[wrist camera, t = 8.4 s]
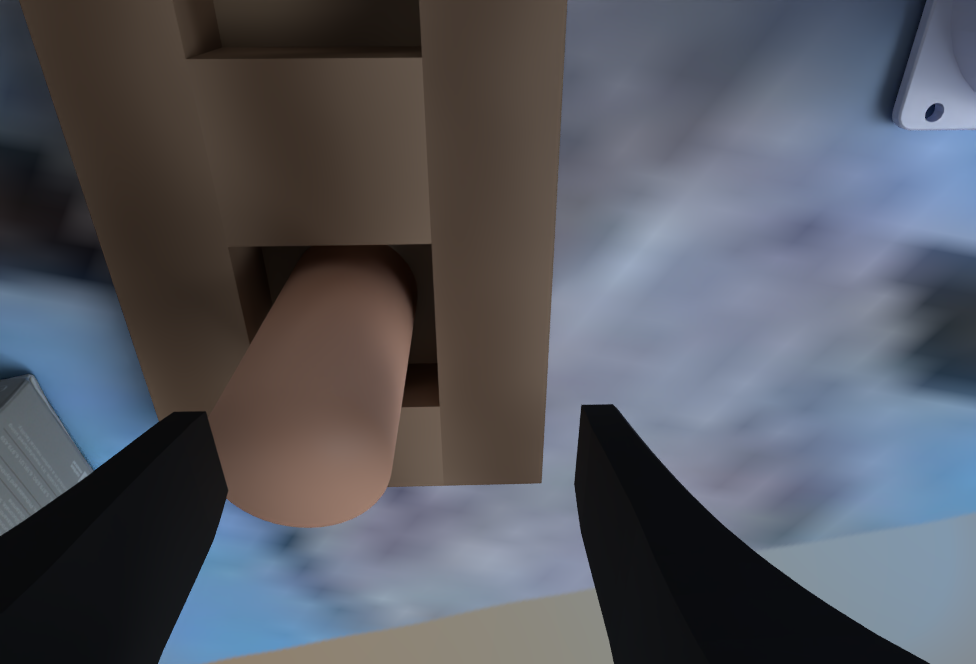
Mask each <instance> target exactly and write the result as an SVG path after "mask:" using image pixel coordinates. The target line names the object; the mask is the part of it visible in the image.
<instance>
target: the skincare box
mask: <svg viewBox="0 0 976 664" xmlns="http://www.w3.org/2000/svg"><path fill="white" fill-rule="evenodd" d="M92 472H93V469H92V468H91V467H90V465H89V464H88V463H87V461H86V460H85V458H84V457H83V455H82V454H81V452H80V451H79V449H78V448H77V447H76V445H75V444H74V442H73V440H72V439H71V437H70V436H69V434H68V433H67V431H66V429H65V427H64V426H63V424H62V422H61V421H60V419H59V418H58V416H57V415H56V413H55V411H54V410H53V408H52V407H51V405H50V404H49V402H48V400H47V398H46V397H45V395H44V393H43V391H42V389H41V388H40V386H39V384H38V382H37V380H36V379H35V377H34V376H33V375H30V374H25V375H21V376H17V377H13V378H9V379H2V380H0V536H1V535H2V534H4V533H6V532H7V531H9V530H10V529H12V528H13V527H15V526H16V525H18V524H19V523H21V522H23V521H24V520H26V519H27V518H28V517H30V516H31V515H33V514H34V513H36V512H37V511H38V510H40V509H41V508H43V507H44V506H46V505H47V504H48V503H50V502H51V501H53V500H54V499H56V498H57V497H58V496H60V495H61V494H63V493H64V492H66V491H67V490H69V489H70V488H71V487H73V486H74V485H76V484H77V483H78V482H80V481H81V480H83V479H84V478H85V477H87V476H88V475H89V474H91V473H92Z"/></svg>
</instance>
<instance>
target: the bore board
mask: <svg viewBox="0 0 976 664" xmlns="http://www.w3.org/2000/svg"><path fill="white" fill-rule="evenodd" d="M19 2H20V5H21V8H22V11H23V14H24V17H25V20H26V23H27V26H28V29H29V32H30V35H31V38H32V41H33V44H34V47H35V50H36V53H37V56H38V59H39V62H40V65H41V68H42V71H43V74H44V77H45V80H46V83H47V86H48V89H49V92H50V95H51V98H52V101H53V104H54V107H55V110H56V113H57V116H58V119H59V122H60V125H61V128H62V131H63V134H64V137H65V140H66V143H67V146H68V149H69V152H70V155H71V158H72V161H73V164H74V167H75V170H76V173H77V176H78V179H79V182H80V185H81V188H82V191H83V194H84V197H85V200H86V203H87V206H88V209H89V212H90V215H91V218H92V221H93V224H94V227H95V230H96V233H97V236H98V239H99V242H100V245H101V248H102V251H103V254H104V257H105V260H106V263H107V266H108V269H109V272H110V275H111V278H112V281H113V284H114V287H115V290H116V293H117V297H118V300H119V303H120V306H121V309H122V312H123V315H124V318H125V321H126V324H127V327H128V330H129V333H130V336H131V339H132V342H133V345H134V348H135V351H136V354H137V357H138V360H139V363H140V366H141V369H142V372H143V375H144V378H145V381H146V384H147V387H148V390H149V393H150V396H151V399H152V402H153V405H154V408H155V411H156V414H157V417H158V420H159V421H161V420H162V419H164V418H165V417H167V416H168V415H170V414H171V413H173V412H182V411H206V413H207V417H209V415H210V414H211V412H212V410H213V408H214V407H215V405H216V403H217V401H218V400H219V398H220V396H221V394H222V393H223V391H224V389H225V387H226V386H227V384H228V382H229V381H230V379H231V377H232V375H233V374H234V372H235V370H236V368H237V367H238V365H239V363H240V361H241V360H242V358H243V356H244V354H245V353H246V351H247V349H248V348H249V346H250V344H251V342H252V341H253V339H254V337H255V335H256V334H257V332H258V330H259V328H260V327H261V325H262V323H263V321H264V320H265V318H266V316H267V315H268V313H269V311H270V309H271V308H272V306H273V304H274V302H275V301H276V299H277V297H278V295H279V294H280V292H281V290H282V288H283V287H284V285H285V283H286V282H287V280H288V278H289V276H290V275H291V273H292V271H293V269H294V268H295V266H296V264H297V262H298V261H299V259H300V257H301V256H302V255H303V254H304V252H305V251H306V250H307V249H309V248H310V247H311V246H322V245H388V246H390V247H391V248H392V249H394V250H395V251H396V252H397V253H398V254H399V255H400V256H401V257H402V258H403V259H404V260H405V261H406V263H407V264H408V266H409V267H410V269H411V271H412V273H413V275H414V278H415V281H416V285H417V305H416V312H415V319H414V325H413V332H412V339H411V345H410V352H409V359H408V366H407V372H406V379H405V386H404V393H403V399H402V406H401V413H400V419H399V426H398V433H397V440H396V446H395V453H394V460H393V467H392V473H391V478H390V481H389V483H388V486H387V487H407V486H448V485H490V484H531V483H541V482H542V464H543V445H544V426H545V408H546V389H547V370H548V352H549V333H550V314H551V295H552V277H553V258H554V239H555V221H556V202H557V183H558V165H559V146H560V127H561V109H562V90H563V71H564V52H565V34H566V15H567V0H19Z"/></svg>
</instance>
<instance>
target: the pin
mask: <svg viewBox="0 0 976 664" xmlns="http://www.w3.org/2000/svg"><path fill="white" fill-rule="evenodd" d="M416 305H417V285H416V281H415V278H414V275H413V273H412V271H411V269H410V267H409V266H408V264H407V263H406V261H405V260H404V259H403V258H402V257H401V256H400V255H399V254H398V253H397V252H396V251H395V250H394V249H392V248H391V247H390V246H388V245H322V246H311V247H310V248H309V249H307V250H306V251H305V252H304V254H303V255H302V256H301V257H300V259H299V261H298V262H297V264H296V266H295V268H294V269H293V271H292V273H291V275H290V276H289V278H288V280H287V282H286V283H285V285H284V287H283V288H282V290H281V292H280V294H279V295H278V297H277V299H276V301H275V302H274V304H273V306H272V308H271V309H270V311H269V313H268V315H267V316H266V318H265V320H264V321H263V323H262V325H261V327H260V328H259V330H258V332H257V334H256V335H255V337H254V339H253V341H252V342H251V344H250V346H249V348H248V349H247V351H246V353H245V354H244V356H243V358H242V360H241V361H240V363H239V365H238V367H237V368H236V370H235V372H234V374H233V375H232V377H231V379H230V381H229V382H228V384H227V386H226V387H225V389H224V391H223V393H222V394H221V396H220V398H219V400H218V401H217V403H216V405H215V407H214V408H213V410H212V412H211V414H210V415H209V417H208V420H209V424H210V427H211V431H212V434H213V438H214V441H215V445H216V449H217V452H218V456H219V459H220V463H221V466H222V470H223V473H224V477H225V480H226V484H227V487H228V494H227V497H226V498H227V499H228V500H229V501H230V502H231V503H233V504H234V505H236V506H237V507H239V508H240V509H242V510H243V511H245V512H247V513H249V514H251V515H253V516H255V517H258V518H260V519H262V520H265V521H269V522H272V523H275V524H280V525H285V526H291V527H304V528H312V527H324V526H330V525H335V524H339V523H342V522H345V521H348V520H350V519H353V518H355V517H357V516H359V515H361V514H362V513H364V512H365V511H367V510H368V509H369V508H371V507H372V506H373V505H374V504H375V503H376V502H377V501H378V500H379V499H380V497H381V496H382V495H383V493H384V492H385V490H386V488H387V486H388V483H389V481H390V478H391V473H392V467H393V460H394V453H395V446H396V440H397V433H398V426H399V419H400V413H401V406H402V399H403V393H404V386H405V379H406V372H407V366H408V359H409V352H410V345H411V339H412V332H413V325H414V319H415V312H416Z"/></svg>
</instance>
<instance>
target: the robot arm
mask: <svg viewBox="0 0 976 664" xmlns="http://www.w3.org/2000/svg"><path fill="white" fill-rule="evenodd" d="M932 104H935V110H934V112H933V114H932V115H931V116H930V117H928V118H926V119H925V112H926V111H927V109H928V108H929V107H930V106H931V105H932ZM892 119H893V122H894V124H895V125H897V126H898V127H900V128H903V129H906V130H976V0H927V1H926V4H925V7H924V10H923V14H922V17H921V20H920V24H919V27H918V30H917V33H916V37H915V40H914V43H913V46H912V50H911V53H910V56H909V59H908V63H907V66H906V69H905V72H904V76H903V79H902V82H901V86H900V89H899V92H898V95H897V99H896V102H895V105H894V108H893V113H892ZM574 485H575V493H576V501H577V508H578V515H579V522H580V529H581V534H582V538H583V542H584V546H585V550H586V554H587V558H588V562H589V566H590V569H591V573H592V577H593V581H594V585H595V589H596V592H597V596H598V600H599V604H600V607H601V611H602V615H603V619H604V623H605V626H606V630H607V634H608V638H609V642H610V647H611V652H612V656H613V661H614V664H930V663H928V662H926V661H924V660H922V659H921V658H919V657H917V656H915V655H913V654H911V653H910V652H908V651H906V650H904V649H902V648H901V647H899V646H897V645H895V644H893V643H891V642H890V641H888V640H886V639H884V638H882V637H881V636H878V635H877V634H875V633H874V632H872V631H870V630H868V629H867V628H865V627H864V626H862V625H861V624H859V623H857V622H856V621H854V620H852V619H851V618H849V617H848V616H846V615H845V614H843V613H841V612H840V611H838V610H837V609H835V608H833V607H832V606H830V605H828V604H827V603H825V602H824V601H823V600H821V599H820V598H818V597H817V596H815V595H814V594H812V593H811V592H809V591H808V590H806V589H805V588H803V587H802V586H800V585H799V584H798V583H796V582H795V581H793V580H792V579H791V578H790V577H788V576H787V575H785V574H784V573H783V572H781V571H780V570H778V569H777V568H776V567H774V566H773V565H771V564H770V563H769V562H768V561H766V560H765V559H764V558H762V557H761V556H760V555H759V554H757V553H756V552H755V551H754V550H752V549H751V548H750V547H749V546H747V545H746V544H745V543H744V542H743V541H742V540H740V539H739V538H738V537H737V536H736V535H734V534H733V533H732V532H731V531H730V530H728V529H727V528H726V527H725V526H724V525H723V524H722V523H720V522H719V521H718V520H717V519H716V518H715V517H714V516H713V515H712V514H711V513H710V512H709V511H708V510H707V509H706V508H705V507H704V506H703V505H702V504H701V503H700V502H699V501H697V500H696V499H695V498H694V497H693V496H692V495H691V494H690V493H689V491H688V490H687V489H686V488H685V487H684V486H683V485H682V484H681V483H680V482H679V481H678V480H677V479H676V478H675V477H674V476H673V474H672V473H671V472H670V471H669V470H668V469H667V468H666V467H665V466H664V465H663V463H662V462H661V461H660V460H659V459H658V458H657V457H656V456H655V454H654V453H653V452H652V451H651V450H650V449H649V447H648V446H647V445H646V444H645V443H644V441H643V440H642V439H641V438H640V437H639V435H638V434H637V433H636V432H635V430H634V429H633V428H632V427H631V425H630V424H629V423H628V422H627V420H626V419H625V418H624V417H623V415H622V414H621V413H620V411H619V410H618V409H617V408H616V407H615V406H614V405H613V404H607V405H581V415H580V426H579V438H578V449H577V460H576V471H575V482H574ZM227 494H228V487H227V484H226V480H225V477H224V473H223V470H222V466H221V463H220V459H219V456H218V452H217V449H216V445H215V441H214V438H213V434H212V431H211V427H210V424H209V420H208V417H207V413H206V411H182V412H173V413H171V414H170V415H168V416H167V417H165V418H164V419H162V420H161V421H159V422H158V423H157V424H155V425H154V426H153V427H151V428H150V429H149V430H147V431H146V432H145V433H143V434H142V435H141V436H139V437H138V438H137V439H135V440H134V441H133V442H132V443H130V444H129V445H128V446H126V447H125V448H124V449H122V450H121V451H120V452H118V453H117V454H116V455H114V456H113V457H112V458H110V459H109V460H108V461H106V462H105V463H104V464H103V465H101V466H100V467H99V468H97V469H96V470H95V471H93V472H92V473H91V474H89V475H88V476H87V477H85V478H84V479H83V480H81V481H80V482H78V483H77V484H76V485H74V486H73V487H71V488H70V489H69V490H67V491H66V492H64V493H63V494H61V495H60V496H58V497H57V498H56V499H54V500H53V501H51V502H50V503H48V504H47V505H46V506H44V507H43V508H41V509H40V510H38V511H37V512H36V513H34V514H33V515H31V516H30V517H28V518H27V519H26V520H24V521H23V522H21V523H19V524H18V525H16V526H15V527H13V528H12V529H10V530H9V531H7V532H6V533H4V534H2V535H1V536H0V664H158V662H159V660H160V657H161V655H162V652H163V650H164V648H165V646H166V643H167V641H168V639H169V637H170V635H171V632H172V630H173V628H174V626H175V624H176V622H177V619H178V617H179V615H180V613H181V611H182V609H183V606H184V604H185V602H186V600H187V598H188V596H189V593H190V591H191V589H192V587H193V585H194V583H195V580H196V578H197V576H198V574H199V572H200V569H201V567H202V565H203V563H204V560H205V558H206V556H207V554H208V552H209V549H210V547H211V545H212V542H213V540H214V537H215V534H216V531H217V528H218V525H219V522H220V518H221V515H222V512H223V508H224V504H225V501H226V497H227Z"/></svg>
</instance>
